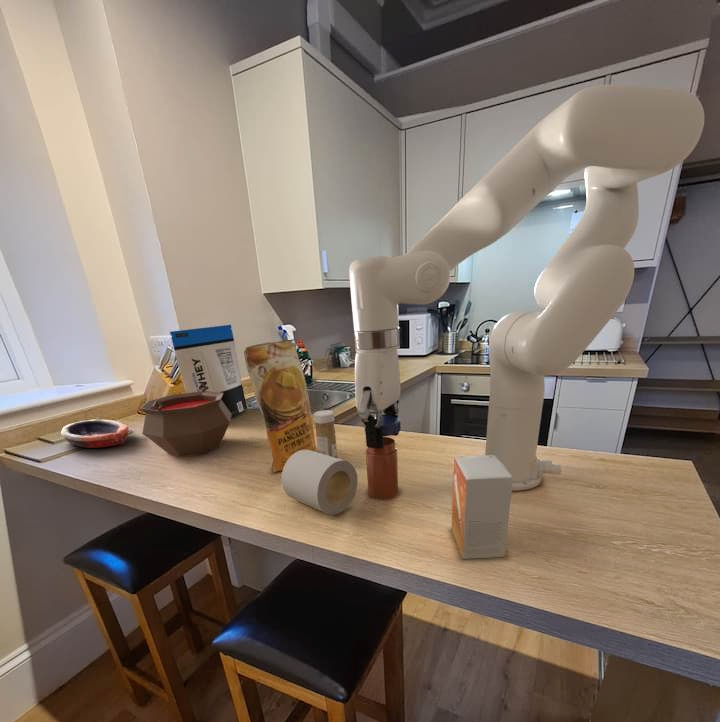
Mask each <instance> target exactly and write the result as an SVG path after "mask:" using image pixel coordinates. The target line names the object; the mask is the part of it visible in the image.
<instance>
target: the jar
mask: <svg viewBox="0 0 720 722" xmlns="http://www.w3.org/2000/svg"><path fill="white" fill-rule="evenodd" d="M383 444H384V447H383V448H382V449H378V448H368V447H367V446H366V450H365V464H366V477H367V479H366V480H367V494H368V496H369V497H370V498H373V499H375V500H376V499H377V500H389V499H393V498H395V497H396V496H397V495H398V494H399V468H398V467H399V464H398V449H397V447H396V445H397V444H396V440H395V439H394V438H393V437H390V436H384V437H383Z"/></svg>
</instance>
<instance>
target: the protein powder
mask: <svg viewBox="0 0 720 722" xmlns="http://www.w3.org/2000/svg"><path fill="white" fill-rule="evenodd" d="M169 335H170V336H171V337H170V338H171V343H172V346H173V350H174V354H175V358H176V362H177V365H178V369H179V374H180V377H181V381H182V384H183V388H184V393H191V392H201V390H200V389H199V388H198V386H199V385H200V383H201V382H202V383H203V384H204V385H205V386H207V389H206V390H205V391H209V392H220V393H223V396H222V398H221V400H222V401H223V403H224V404H225V406H226V407H227V408H228V410H229V411H230V413H231V414H232V416H231V419H234V418H235V417H239V416H240V415H241V414H243V413H244V412H245V411H246V410H248V407H247V401H246V397H245V393H244V392H245V391H244V386H243V382H242V377H241V371H240V365H239V360H238V354H237V349H236V343H235V338H234V333H233V329H232V324H223V325H216V326H215V325H214V326H208V327H207V326H206V327H198V328H191V329H190V328H189V329H182V330H181V329H180V330H173V331H169ZM201 388H202V389H204V387H203V386H201Z"/></svg>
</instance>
